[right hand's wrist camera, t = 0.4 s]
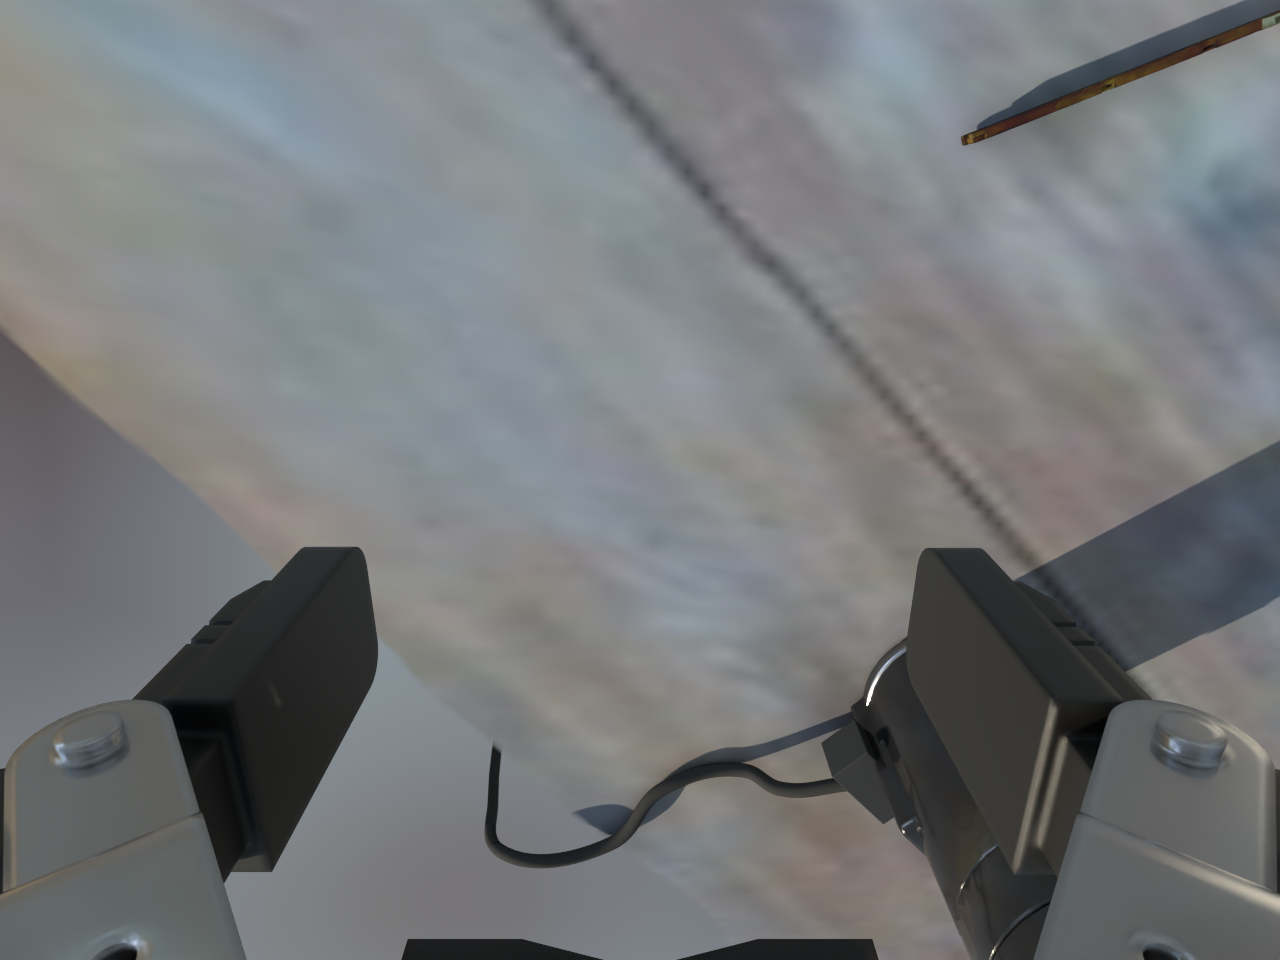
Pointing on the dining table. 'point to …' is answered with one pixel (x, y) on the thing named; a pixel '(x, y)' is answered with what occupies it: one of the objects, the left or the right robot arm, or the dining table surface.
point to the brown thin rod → (1123, 78)
